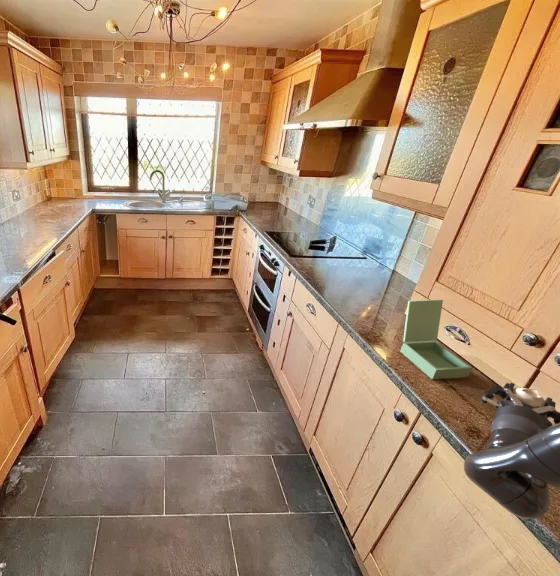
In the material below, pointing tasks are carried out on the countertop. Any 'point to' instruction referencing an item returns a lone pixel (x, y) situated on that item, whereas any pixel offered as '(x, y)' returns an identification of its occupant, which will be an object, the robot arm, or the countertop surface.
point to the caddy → (435, 360)
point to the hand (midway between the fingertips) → (528, 393)
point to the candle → (529, 397)
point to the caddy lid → (422, 320)
